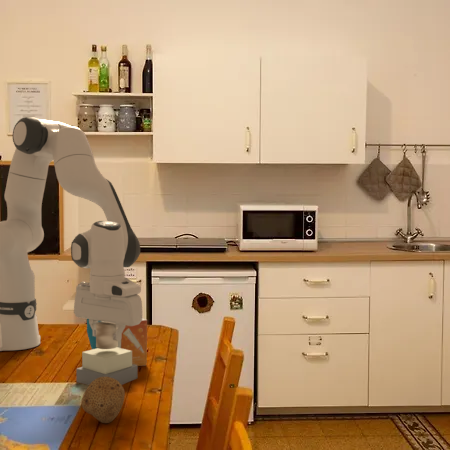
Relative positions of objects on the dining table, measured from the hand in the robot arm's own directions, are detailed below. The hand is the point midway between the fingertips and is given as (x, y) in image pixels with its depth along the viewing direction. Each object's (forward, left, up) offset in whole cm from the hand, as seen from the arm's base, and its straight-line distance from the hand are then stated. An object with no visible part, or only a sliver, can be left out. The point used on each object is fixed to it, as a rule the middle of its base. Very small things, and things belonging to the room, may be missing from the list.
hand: (107, 338), depth 163 cm
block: (-18, +21, -11) cm, 30 cm away
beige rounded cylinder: (0, 0, -2) cm, 2 cm away
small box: (-4, +14, -11) cm, 18 cm away
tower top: (0, 0, -8) cm, 8 cm away
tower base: (0, 0, -12) cm, 12 cm away
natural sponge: (+18, -22, -11) cm, 31 cm away
